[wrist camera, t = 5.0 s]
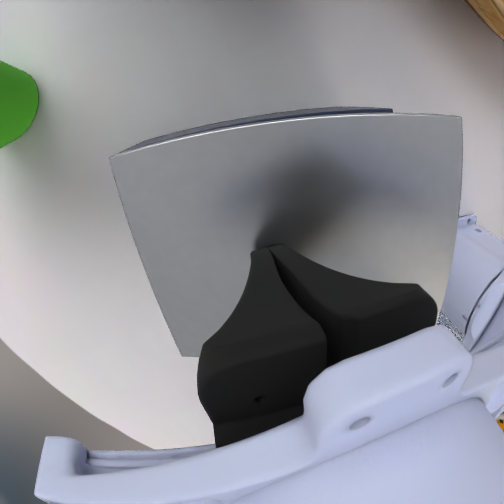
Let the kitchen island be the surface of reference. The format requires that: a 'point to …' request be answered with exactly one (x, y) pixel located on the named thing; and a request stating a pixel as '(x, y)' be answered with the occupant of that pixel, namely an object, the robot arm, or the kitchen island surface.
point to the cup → (16, 102)
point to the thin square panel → (292, 206)
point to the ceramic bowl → (490, 14)
